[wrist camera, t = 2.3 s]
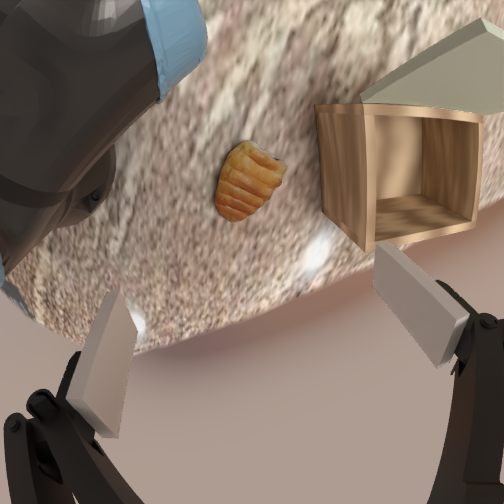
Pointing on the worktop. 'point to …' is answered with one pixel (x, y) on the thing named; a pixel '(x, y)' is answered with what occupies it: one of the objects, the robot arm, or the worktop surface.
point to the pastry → (247, 181)
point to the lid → (450, 74)
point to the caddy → (399, 171)
